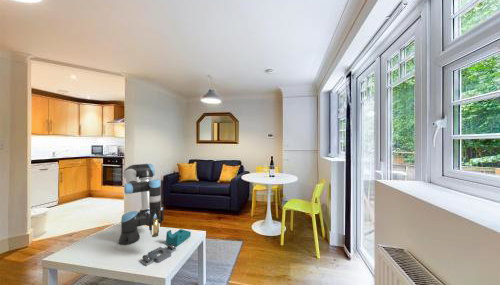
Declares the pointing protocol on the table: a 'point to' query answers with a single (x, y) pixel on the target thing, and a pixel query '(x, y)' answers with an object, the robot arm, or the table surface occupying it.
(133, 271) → the table surface
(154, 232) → the pin
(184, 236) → the teal notched block
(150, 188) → the robot arm
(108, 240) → the table surface
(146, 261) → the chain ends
